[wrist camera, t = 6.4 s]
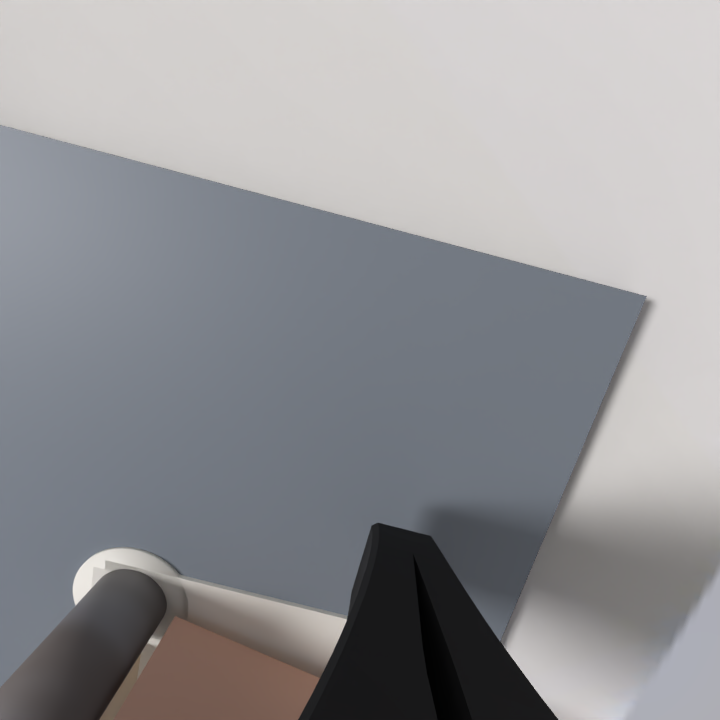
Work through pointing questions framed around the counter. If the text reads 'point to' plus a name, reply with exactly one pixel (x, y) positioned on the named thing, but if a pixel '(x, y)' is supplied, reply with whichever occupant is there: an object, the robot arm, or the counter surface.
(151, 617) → the base
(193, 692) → the pink slab
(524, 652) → the counter surface
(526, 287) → the board
